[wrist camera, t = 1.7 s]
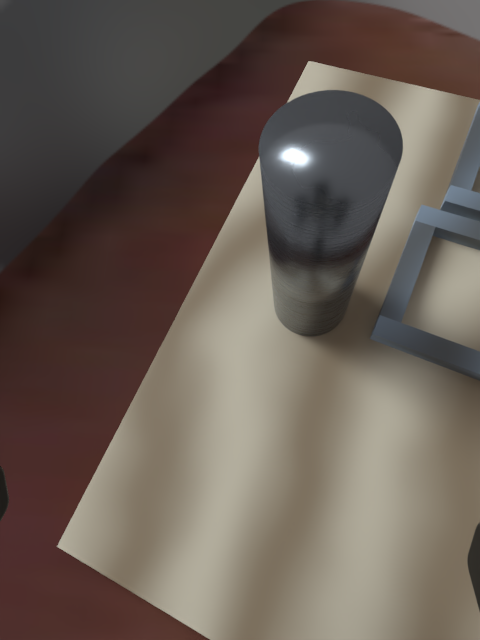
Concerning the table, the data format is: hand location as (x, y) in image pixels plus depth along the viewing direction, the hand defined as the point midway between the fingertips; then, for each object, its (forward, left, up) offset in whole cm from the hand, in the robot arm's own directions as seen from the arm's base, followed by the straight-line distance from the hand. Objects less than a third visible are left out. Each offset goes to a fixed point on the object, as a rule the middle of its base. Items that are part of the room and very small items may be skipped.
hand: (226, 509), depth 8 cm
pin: (+1, -9, -11) cm, 14 cm away
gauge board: (-2, -9, -12) cm, 15 cm away
